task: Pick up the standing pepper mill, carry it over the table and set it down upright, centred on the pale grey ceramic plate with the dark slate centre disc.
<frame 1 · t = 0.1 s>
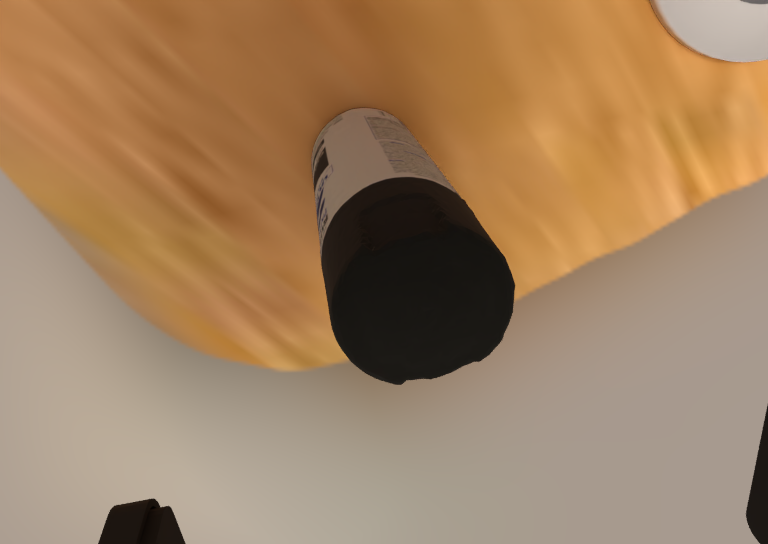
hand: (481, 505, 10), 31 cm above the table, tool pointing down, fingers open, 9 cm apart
spray can: (364, 157, 39), on the table
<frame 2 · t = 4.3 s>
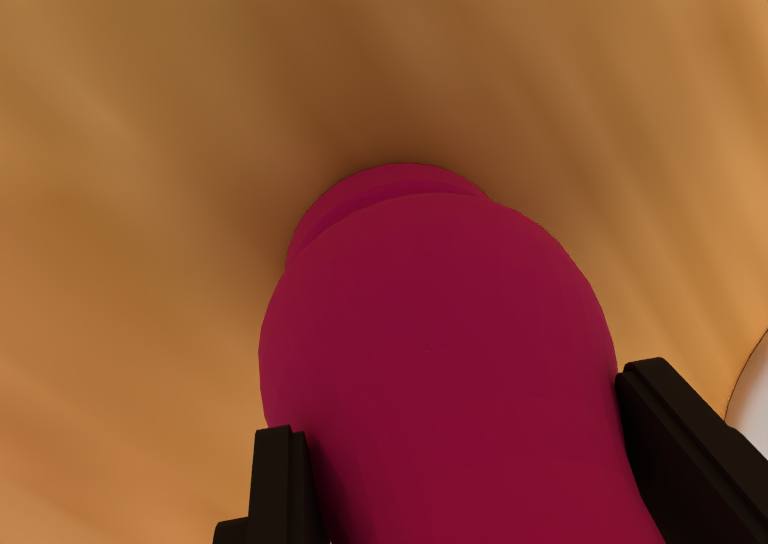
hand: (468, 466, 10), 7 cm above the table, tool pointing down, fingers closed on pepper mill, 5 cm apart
pepper mill: (398, 267, 17), on the table, touching gripper
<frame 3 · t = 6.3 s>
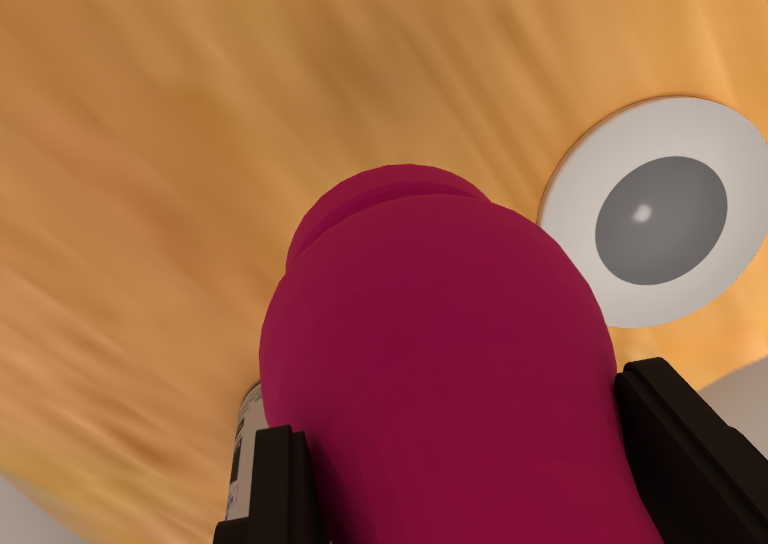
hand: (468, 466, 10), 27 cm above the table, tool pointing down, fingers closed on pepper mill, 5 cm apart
spray can: (290, 408, 42), on the table
mount plate: (650, 216, 39), on the table
pepper mill: (398, 268, 17), point 19 cm above the table, touching gripper
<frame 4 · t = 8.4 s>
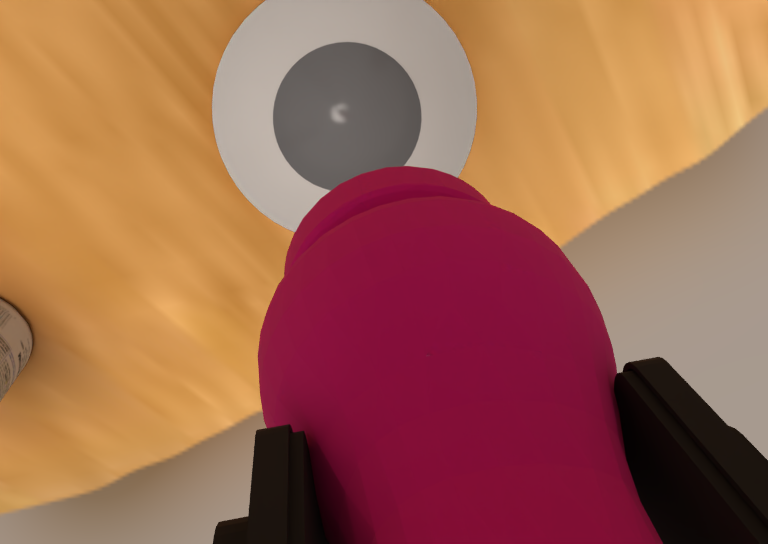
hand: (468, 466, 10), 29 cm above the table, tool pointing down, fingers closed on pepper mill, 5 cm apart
mount plate: (346, 116, 36), on the table
pepper mill: (397, 270, 17), point 21 cm above the table, touching gripper
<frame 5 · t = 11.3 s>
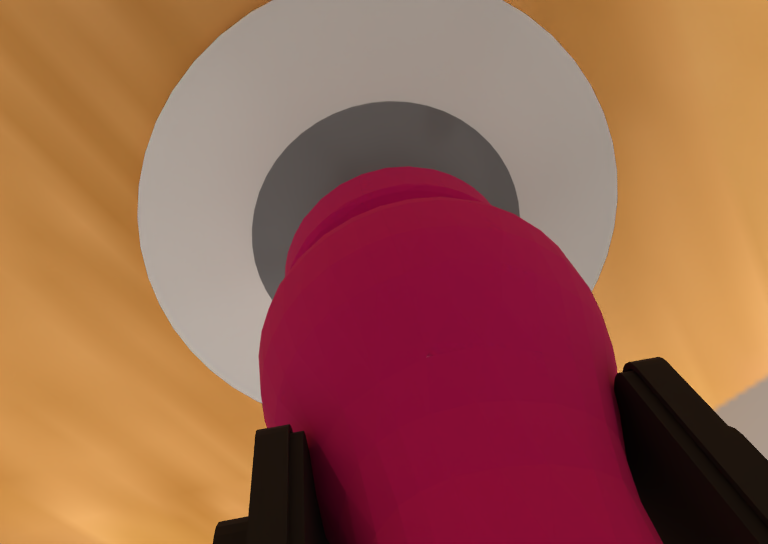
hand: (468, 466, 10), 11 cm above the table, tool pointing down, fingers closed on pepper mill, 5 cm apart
mount plate: (383, 223, 20), on the table
pepper mill: (397, 271, 17), point 4 cm above the table, touching gripper
when the fingers open (10 cm above the table, at t = 12.6 s): pepper mill stays where it is, resting on mount plate.
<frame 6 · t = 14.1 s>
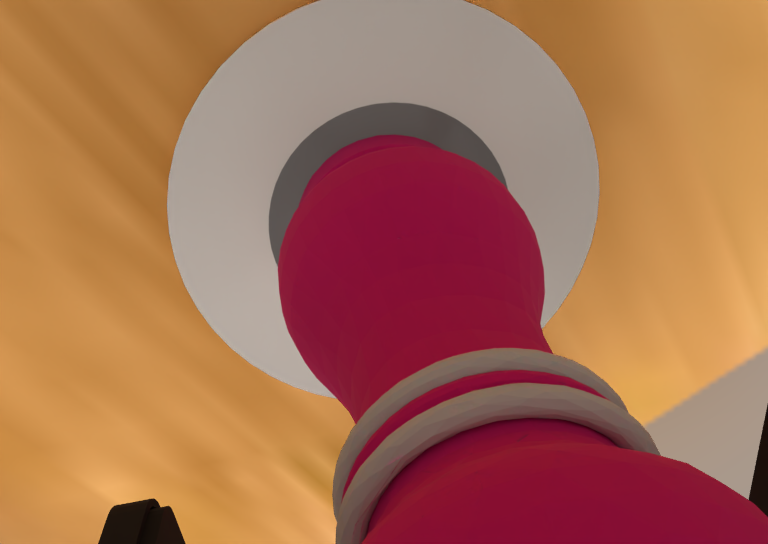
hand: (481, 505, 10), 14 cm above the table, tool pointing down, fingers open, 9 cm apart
mount plate: (387, 213, 23), on the table
pepper mill: (387, 222, 21), point 1 cm above the table, touching mount plate
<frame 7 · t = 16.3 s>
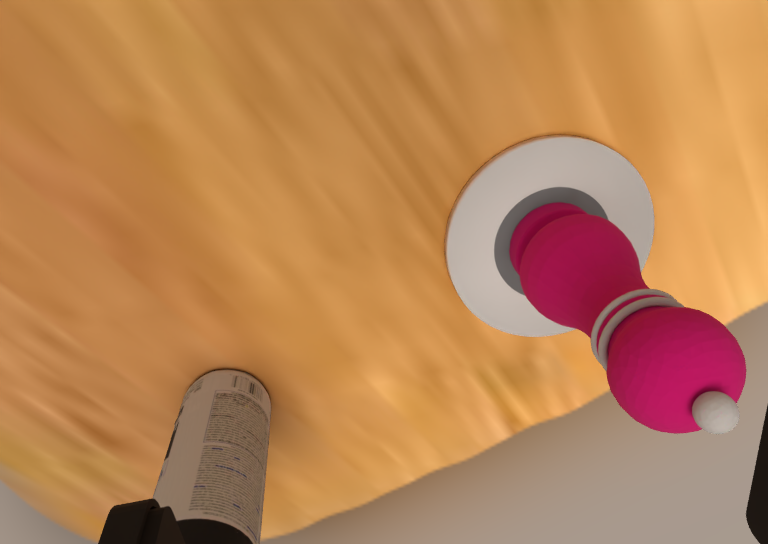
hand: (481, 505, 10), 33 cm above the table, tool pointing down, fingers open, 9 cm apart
spray can: (229, 400, 48), on the table
mount plate: (546, 238, 45), on the table
pepper mill: (550, 242, 44), point 1 cm above the table, touching mount plate
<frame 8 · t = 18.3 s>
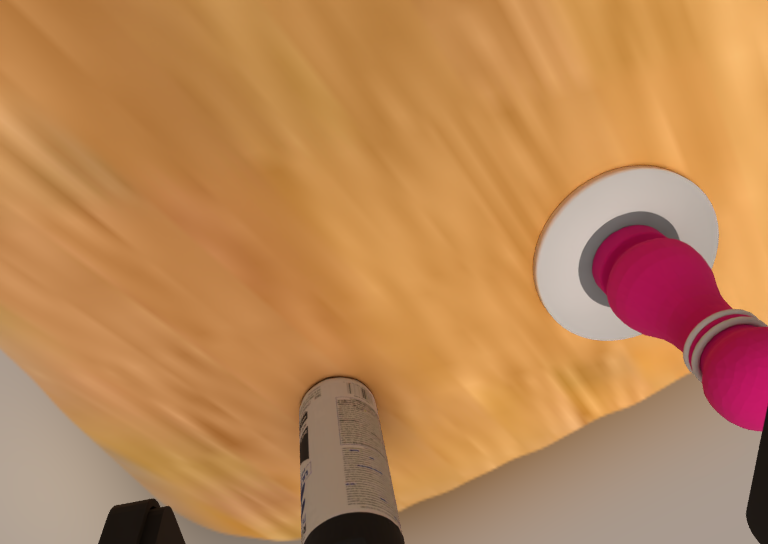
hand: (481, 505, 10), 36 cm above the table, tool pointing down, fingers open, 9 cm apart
spray can: (338, 404, 54), on the table
mount plate: (621, 254, 50), on the table
pepper mill: (627, 259, 49), point 1 cm above the table, touching mount plate
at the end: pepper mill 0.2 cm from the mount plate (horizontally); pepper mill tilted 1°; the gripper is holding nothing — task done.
